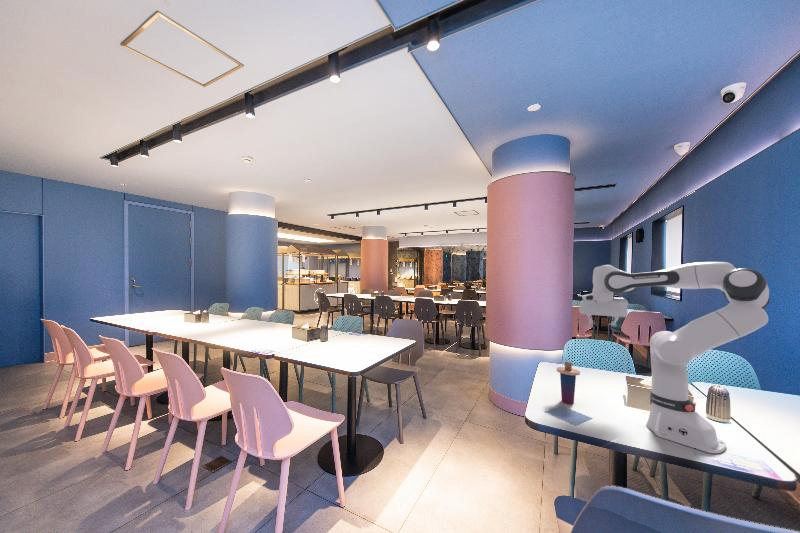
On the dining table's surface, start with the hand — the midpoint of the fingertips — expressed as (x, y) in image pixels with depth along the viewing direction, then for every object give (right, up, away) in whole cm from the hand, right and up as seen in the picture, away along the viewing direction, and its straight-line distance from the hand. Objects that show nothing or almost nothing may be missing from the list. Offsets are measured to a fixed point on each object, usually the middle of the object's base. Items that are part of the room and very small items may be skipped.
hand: (602, 324), depth 153 cm
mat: (-28, -36, -20) cm, 50 cm away
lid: (-21, -22, -7) cm, 31 cm away
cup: (-21, -37, -7) cm, 43 cm away
